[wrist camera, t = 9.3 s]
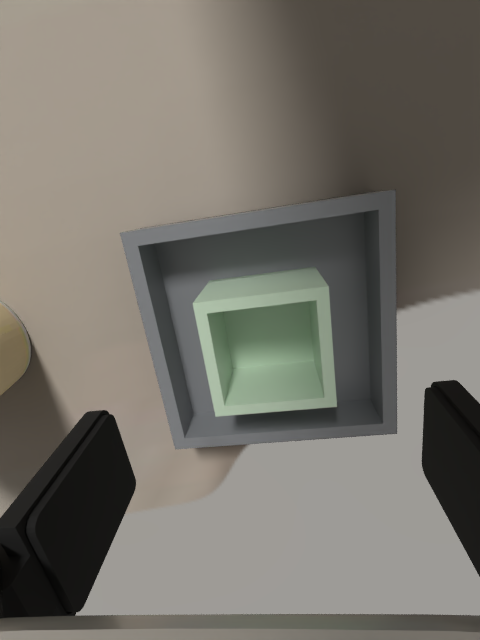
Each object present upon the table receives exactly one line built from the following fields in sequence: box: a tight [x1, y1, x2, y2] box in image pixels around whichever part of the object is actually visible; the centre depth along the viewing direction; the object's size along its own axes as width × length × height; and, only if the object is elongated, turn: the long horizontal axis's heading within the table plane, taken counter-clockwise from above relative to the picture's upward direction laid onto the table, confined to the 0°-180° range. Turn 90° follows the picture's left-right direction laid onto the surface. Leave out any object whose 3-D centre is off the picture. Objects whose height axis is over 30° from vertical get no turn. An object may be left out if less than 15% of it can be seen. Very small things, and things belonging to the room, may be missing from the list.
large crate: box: [120, 190, 397, 449], centre depth 21 cm, size 14×14×4 cm
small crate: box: [193, 267, 337, 417], centre depth 20 cm, size 6×6×5 cm
